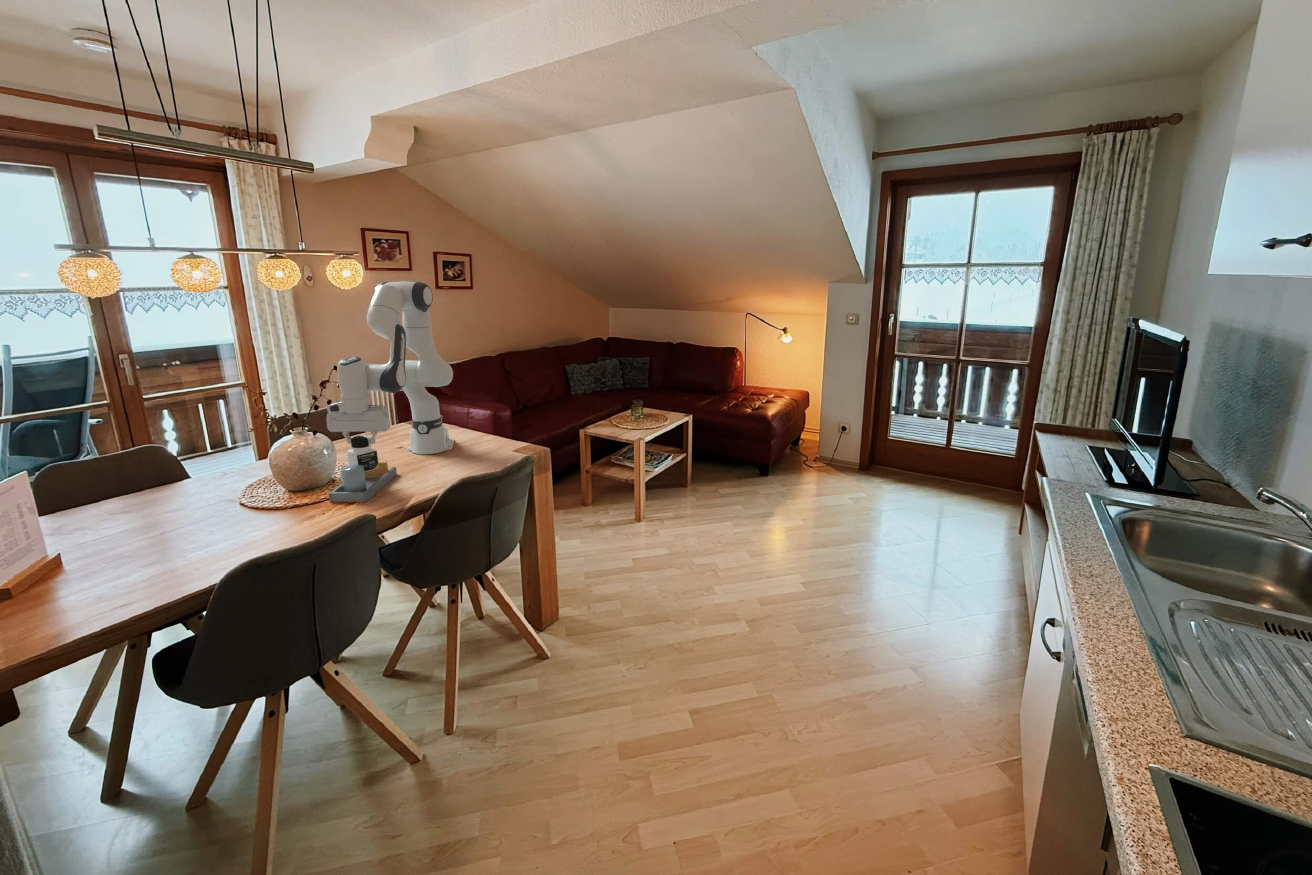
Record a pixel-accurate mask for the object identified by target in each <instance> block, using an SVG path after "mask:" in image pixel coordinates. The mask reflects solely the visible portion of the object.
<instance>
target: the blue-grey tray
mask: <svg viewBox="0 0 1312 875" xmlns="http://www.w3.org/2000/svg"><path fill="white" fill-rule="evenodd" d="M397 471H398V470H397V467H396V466H392V467H391V468H390V469H388V471H387V472H386V473H385V474H384V475H383V476H382V477H381V478H365V481H366V488H367V490H366V491H365V492H344V490H343V483H342V482H341V483H340V484H339V485H337V486H336V487H335V488H334V489H332V490H331V491H330V492H328V498H329V499H328V500H329V502H330V503H344V502H345V503H348V502H349V503H351V502H352V503H354V502H358V503H359V502H361V503H362V502H363V503H365V502H369V501H370V500H372V498H373V497H374V496H376V495H377V493H379V492H380V491H381V490H382V489H383V488H384V487H385V486H386V485H387V484H388V483H390V482H391V481H392V480H393V478H395V476H397V475H398V472H397Z"/></svg>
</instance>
